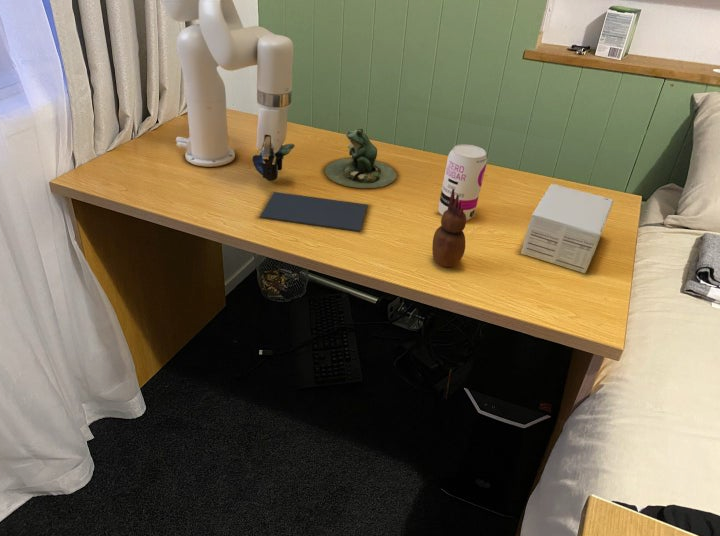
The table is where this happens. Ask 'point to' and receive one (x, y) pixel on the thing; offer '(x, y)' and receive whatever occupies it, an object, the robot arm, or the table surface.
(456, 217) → the wooden figurine
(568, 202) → the supplement box
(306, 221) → the mat
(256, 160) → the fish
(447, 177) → the supplement can
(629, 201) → the table surface
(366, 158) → the frog figurine
